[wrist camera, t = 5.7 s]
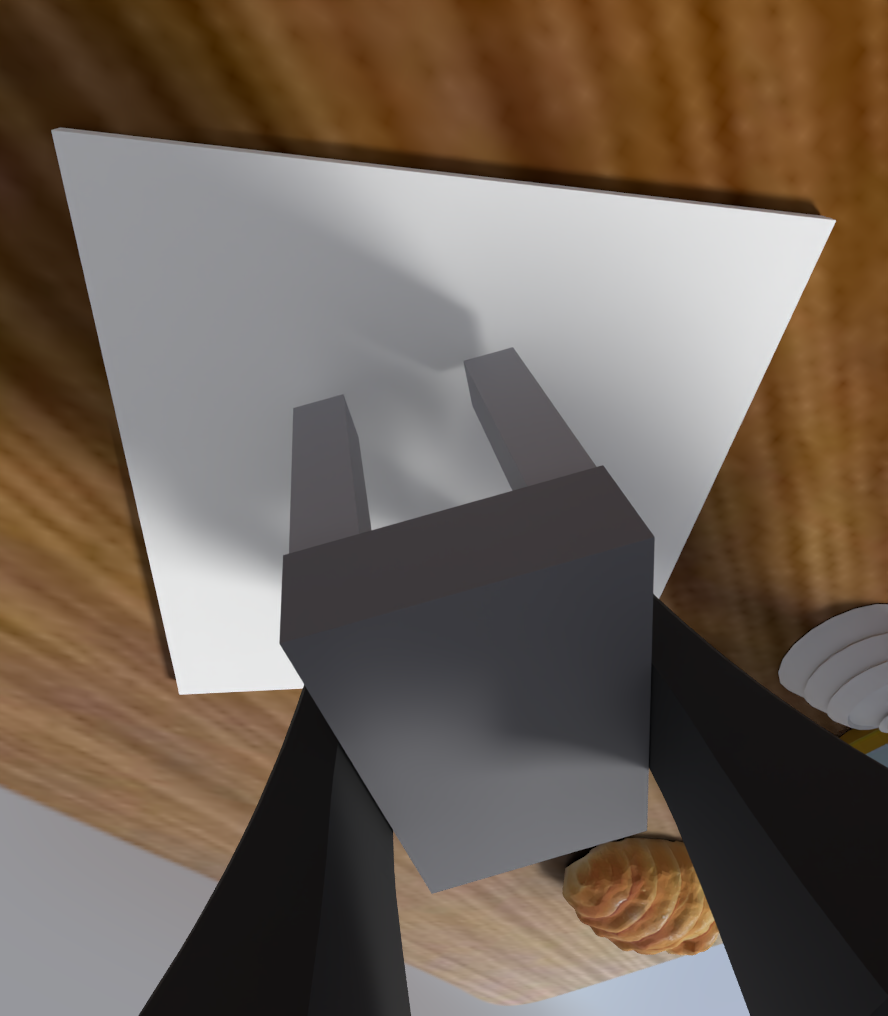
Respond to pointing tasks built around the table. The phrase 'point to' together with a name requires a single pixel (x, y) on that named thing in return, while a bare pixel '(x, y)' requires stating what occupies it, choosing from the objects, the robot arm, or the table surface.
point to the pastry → (642, 897)
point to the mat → (398, 348)
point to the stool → (478, 639)
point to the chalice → (844, 668)
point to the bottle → (869, 743)
